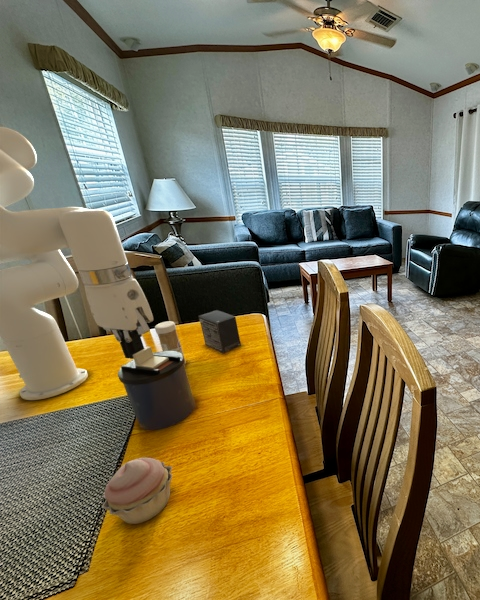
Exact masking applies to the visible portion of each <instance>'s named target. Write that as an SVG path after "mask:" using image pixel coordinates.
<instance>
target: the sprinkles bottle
mask: <svg viewBox="0 0 480 600" xmlns="http://www.w3.org/2000/svg"><path fill="white" fill-rule="evenodd" d="M154 329H155V333H156V334H157V336H158V340H159V344H160V347H161V351H177V352H180V353H181V354H182V355H183V358H184V367H186V365H187V361H186V359H185V356H184V351H183V348H182V345H181V342H180V339H179V336H178V332H177V326H176V323H175V321H172V320H171V321H170V320H167V321H162V322H160V323H159V322H158V324H156V325H155V326H154Z"/></svg>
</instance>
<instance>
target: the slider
mask: <svg viewBox="0 0 480 600" xmlns="http://www.w3.org/2000/svg"><path fill="white" fill-rule="evenodd" d="M153 353H154V351H153V349H152V347H151V346H146V347H144V349H143V350H141V351H139V352H137V353H135V354H134V355H133V358H134V359H133V360H135V363H136V365H135V366H136V367H144V368H151V369H155V368H157V367H158V366H160V365H161V364H163V363H165V362H166V361H168V360H169V358H167V357H159V356H154V355H153Z"/></svg>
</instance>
